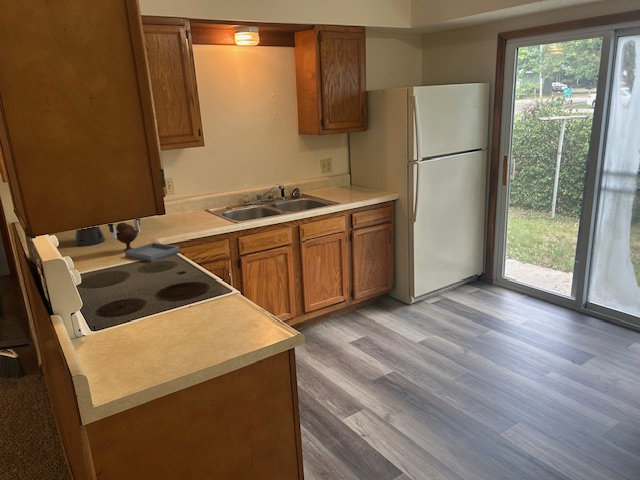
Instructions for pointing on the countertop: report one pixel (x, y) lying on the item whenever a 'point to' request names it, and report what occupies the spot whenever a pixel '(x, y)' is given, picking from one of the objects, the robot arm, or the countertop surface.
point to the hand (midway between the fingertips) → (126, 235)
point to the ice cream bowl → (126, 234)
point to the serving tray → (152, 252)
